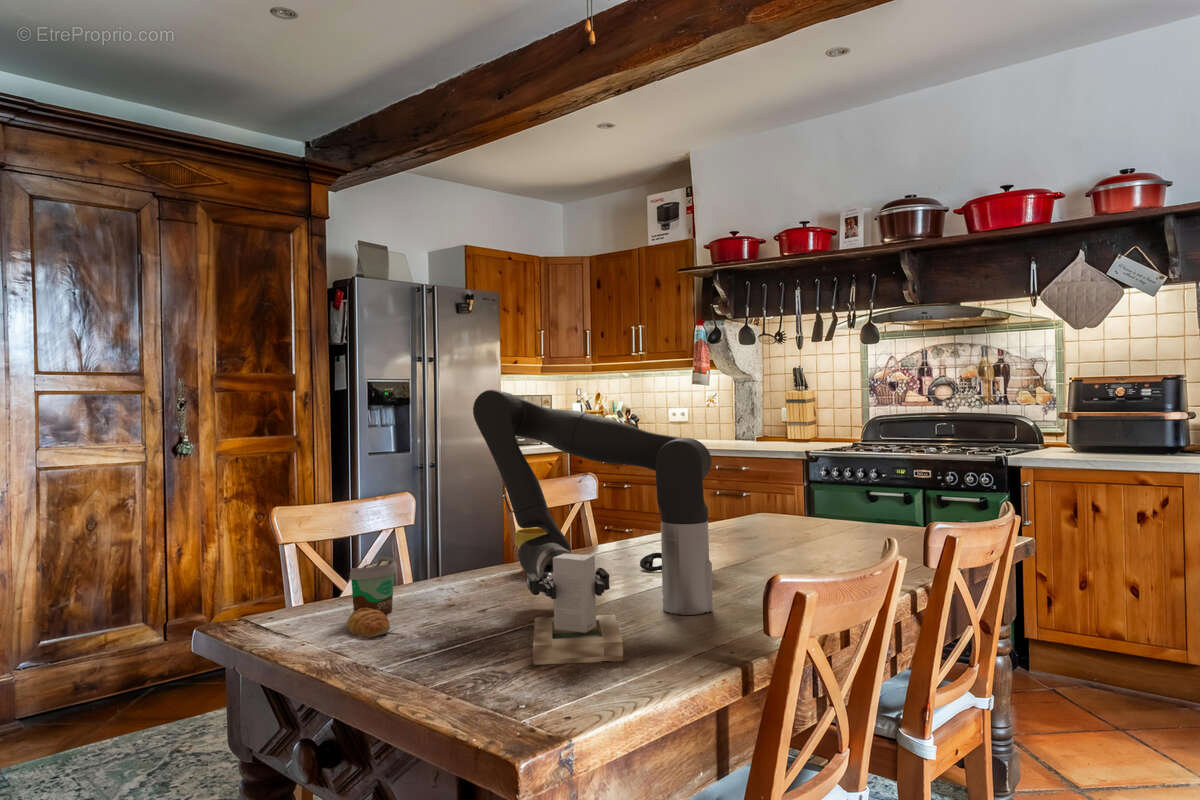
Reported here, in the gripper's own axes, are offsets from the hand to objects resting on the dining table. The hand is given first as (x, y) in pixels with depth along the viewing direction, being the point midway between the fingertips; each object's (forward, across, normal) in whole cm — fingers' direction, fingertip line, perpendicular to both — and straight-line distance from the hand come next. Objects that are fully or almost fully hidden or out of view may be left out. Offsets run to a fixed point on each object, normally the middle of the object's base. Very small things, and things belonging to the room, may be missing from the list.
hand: (577, 591), depth 128 cm
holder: (-2, 0, +10) cm, 10 cm away
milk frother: (-52, +34, +11) cm, 63 cm away
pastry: (-23, -34, +11) cm, 42 cm away
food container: (-35, -33, +11) cm, 49 cm away
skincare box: (-2, 0, +7) cm, 7 cm away
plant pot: (-65, +3, +11) cm, 66 cm away
